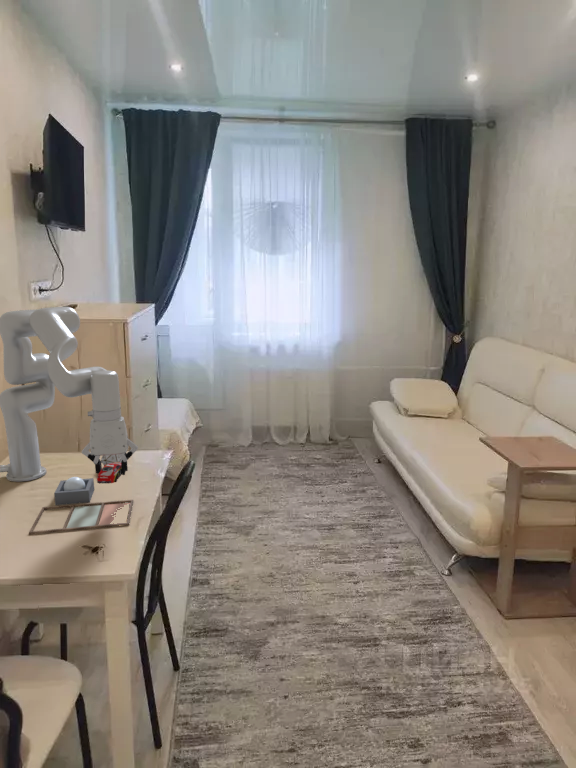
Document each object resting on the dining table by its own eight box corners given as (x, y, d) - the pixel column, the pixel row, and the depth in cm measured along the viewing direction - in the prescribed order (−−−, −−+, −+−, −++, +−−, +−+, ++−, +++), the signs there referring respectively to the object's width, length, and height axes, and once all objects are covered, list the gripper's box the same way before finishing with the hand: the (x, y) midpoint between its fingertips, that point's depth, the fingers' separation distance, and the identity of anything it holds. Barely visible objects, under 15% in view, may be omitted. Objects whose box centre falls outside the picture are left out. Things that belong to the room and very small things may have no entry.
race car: (111, 468, 165) (110, 456, 164) (128, 469, 165) (127, 456, 164) (93, 486, 152) (92, 472, 151) (113, 486, 152) (112, 472, 151)
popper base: (55, 505, 167) (54, 493, 166) (61, 492, 176) (60, 480, 175) (89, 502, 169) (88, 490, 168) (94, 489, 178) (93, 478, 177)
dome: (62, 501, 169) (60, 482, 167) (66, 493, 175) (64, 474, 174) (84, 499, 170) (82, 480, 169) (87, 491, 176) (86, 473, 175)
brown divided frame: (28, 534, 149) (28, 532, 149) (42, 509, 164) (42, 507, 164) (129, 525, 154) (129, 523, 154) (133, 501, 169) (133, 499, 169)
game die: (108, 479, 196) (88, 460, 193) (120, 464, 203) (101, 445, 200) (123, 472, 191) (103, 452, 188) (135, 456, 198) (116, 436, 195)
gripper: (72, 419, 149) (78, 481, 153) (137, 416, 152) (142, 476, 156) (77, 412, 156) (82, 472, 160) (139, 409, 159) (143, 467, 163)
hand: (112, 473), depth 158 cm, fingers closed on race car, 6 cm apart
